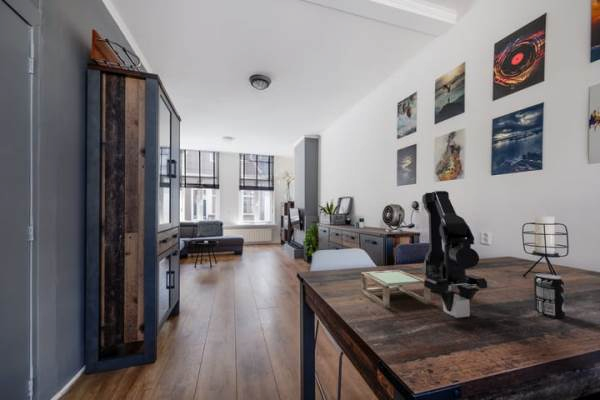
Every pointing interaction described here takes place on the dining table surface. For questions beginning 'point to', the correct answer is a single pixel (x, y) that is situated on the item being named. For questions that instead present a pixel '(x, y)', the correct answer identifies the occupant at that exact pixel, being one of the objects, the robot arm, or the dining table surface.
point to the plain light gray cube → (458, 307)
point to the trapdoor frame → (386, 288)
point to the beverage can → (549, 295)
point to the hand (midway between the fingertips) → (456, 310)
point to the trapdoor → (394, 278)
